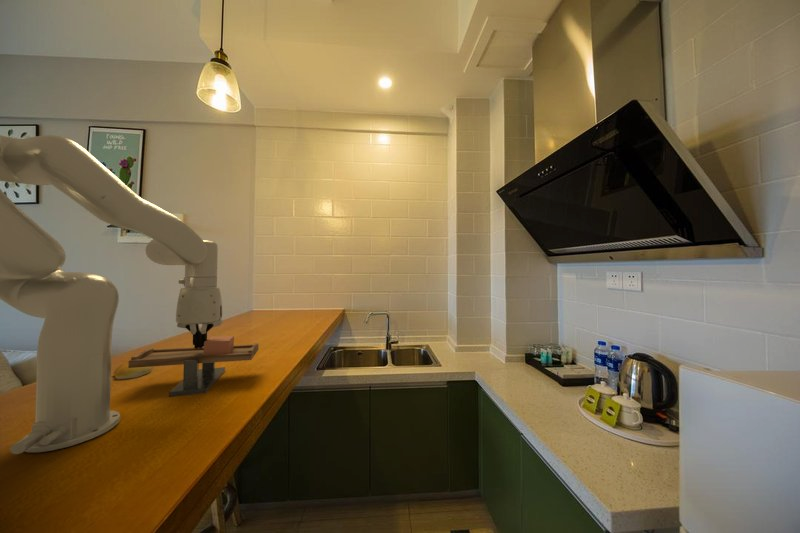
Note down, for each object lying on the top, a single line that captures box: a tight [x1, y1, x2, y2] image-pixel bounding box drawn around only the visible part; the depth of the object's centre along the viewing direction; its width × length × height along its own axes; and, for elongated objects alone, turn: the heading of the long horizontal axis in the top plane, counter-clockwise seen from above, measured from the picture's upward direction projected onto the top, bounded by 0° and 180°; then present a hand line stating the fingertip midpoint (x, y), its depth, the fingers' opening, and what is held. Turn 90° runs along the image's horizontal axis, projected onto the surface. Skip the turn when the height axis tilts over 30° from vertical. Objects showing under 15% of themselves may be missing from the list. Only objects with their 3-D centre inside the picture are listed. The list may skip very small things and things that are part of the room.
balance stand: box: [168, 359, 226, 398], centre depth 78 cm, size 16×8×8 cm, turn 17°
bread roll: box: [113, 360, 153, 380], centre depth 84 cm, size 8×9×4 cm
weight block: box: [204, 335, 235, 355], centre depth 80 cm, size 6×6×4 cm
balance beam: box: [128, 342, 259, 368], centre depth 78 cm, size 11×28×3 cm, turn 107°
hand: (199, 346), depth 78 cm, fingers closed
